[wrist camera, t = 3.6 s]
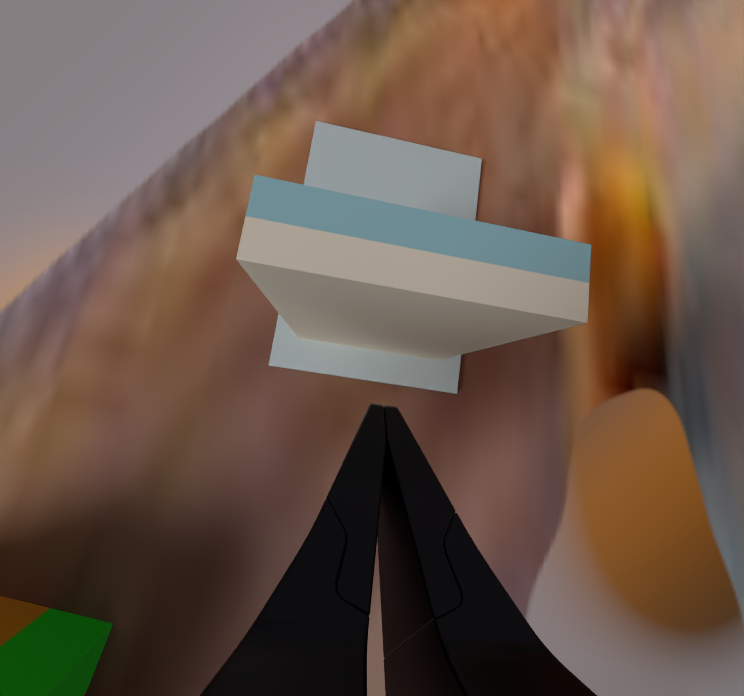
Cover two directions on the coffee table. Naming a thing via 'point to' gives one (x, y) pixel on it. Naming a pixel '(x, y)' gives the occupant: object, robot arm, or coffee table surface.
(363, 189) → the mat
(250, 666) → the robot arm
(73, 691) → the puzzle toy
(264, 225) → the tile
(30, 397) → the coffee table surface
